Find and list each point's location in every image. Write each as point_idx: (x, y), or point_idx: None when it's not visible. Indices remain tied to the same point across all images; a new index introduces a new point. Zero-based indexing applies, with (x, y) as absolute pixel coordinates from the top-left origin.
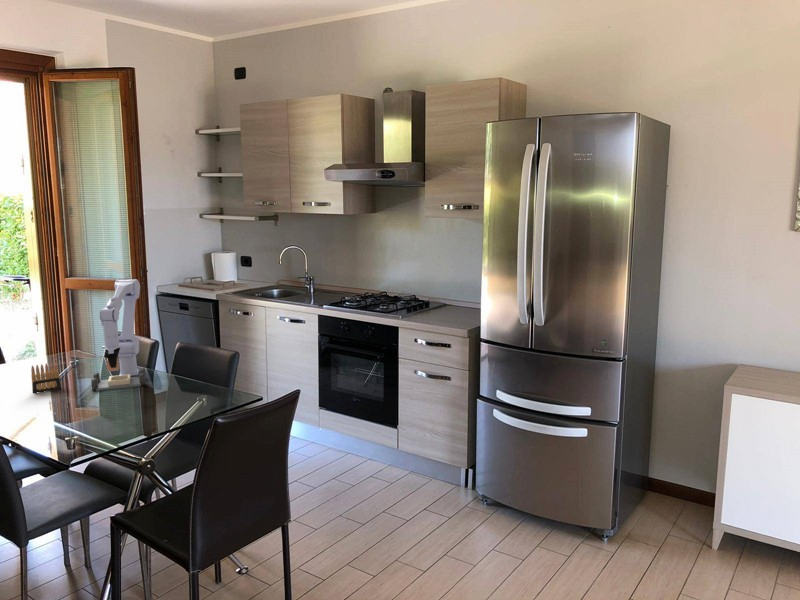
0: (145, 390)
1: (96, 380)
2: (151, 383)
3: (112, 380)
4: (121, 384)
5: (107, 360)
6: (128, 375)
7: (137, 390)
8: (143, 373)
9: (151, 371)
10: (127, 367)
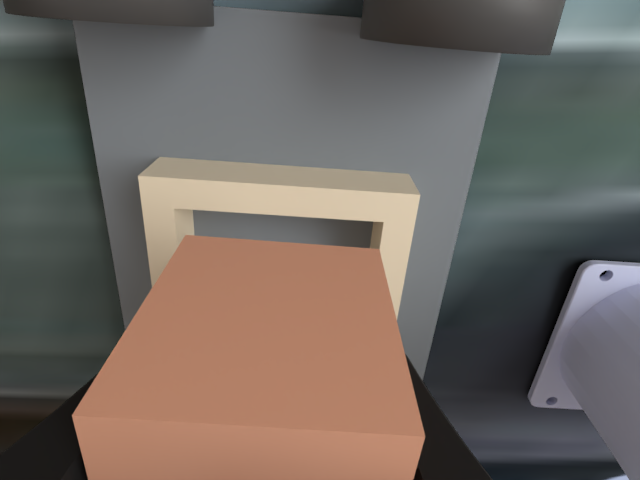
0: (8, 423)
1: (10, 12)
2: None
3: (172, 229)
4: None
5: (84, 432)
6: None
7: (19, 379)
8: None
9: (587, 476)
10: (614, 404)
